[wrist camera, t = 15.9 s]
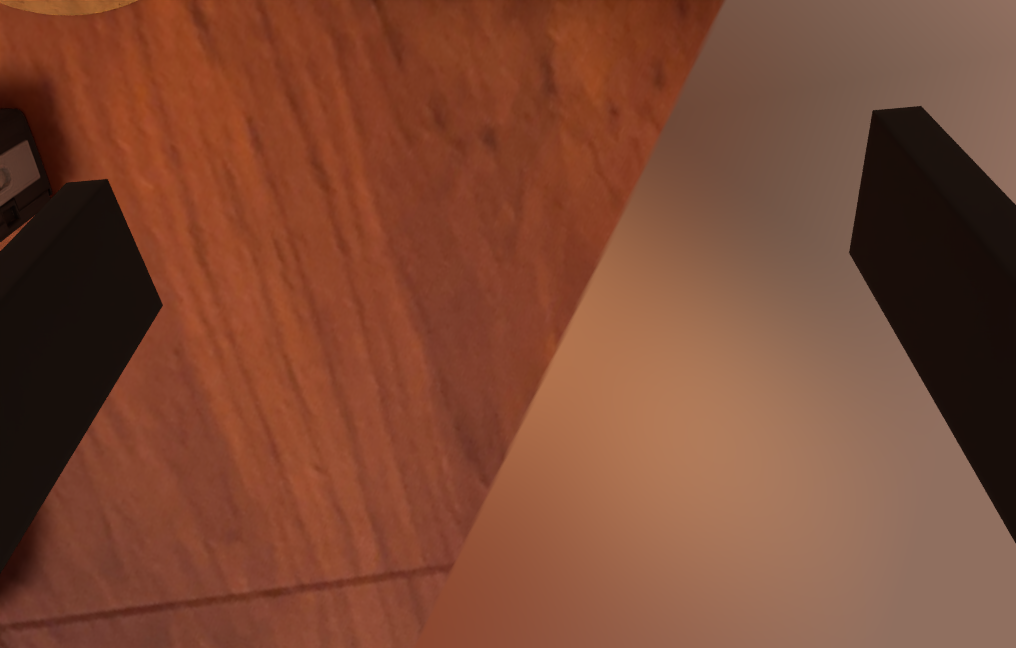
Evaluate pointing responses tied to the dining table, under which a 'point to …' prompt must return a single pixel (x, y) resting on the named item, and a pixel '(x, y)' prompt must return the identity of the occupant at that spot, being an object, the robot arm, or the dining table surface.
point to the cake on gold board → (66, 6)
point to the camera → (19, 173)
